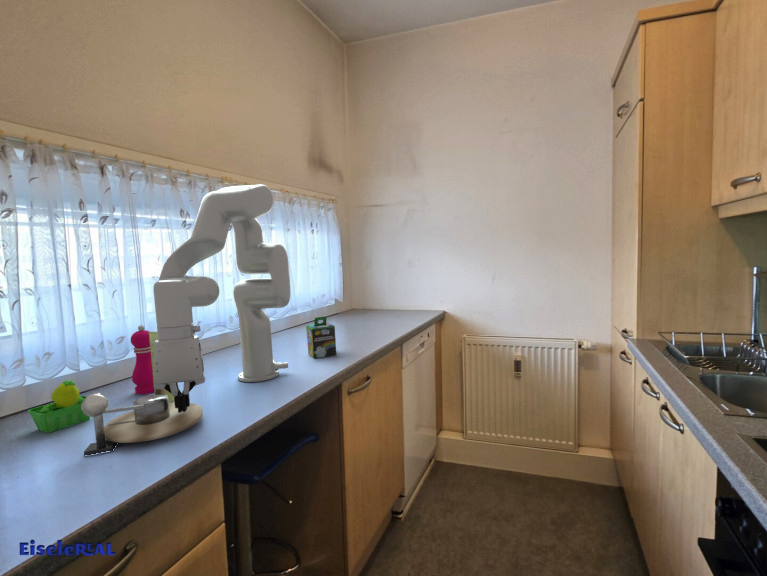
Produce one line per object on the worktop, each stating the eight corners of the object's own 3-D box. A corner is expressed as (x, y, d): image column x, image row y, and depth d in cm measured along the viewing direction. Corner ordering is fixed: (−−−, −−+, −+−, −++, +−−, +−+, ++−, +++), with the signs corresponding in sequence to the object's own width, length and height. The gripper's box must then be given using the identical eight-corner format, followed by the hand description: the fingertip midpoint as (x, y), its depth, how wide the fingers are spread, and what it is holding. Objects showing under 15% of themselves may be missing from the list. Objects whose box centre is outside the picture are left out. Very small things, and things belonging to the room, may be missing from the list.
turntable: (206, 402, 110) (204, 378, 109) (198, 432, 91) (196, 404, 90) (118, 414, 104) (115, 390, 103) (90, 450, 85) (87, 420, 84)
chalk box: (330, 350, 168) (328, 313, 166) (337, 355, 159) (335, 316, 158) (307, 354, 164) (304, 316, 163) (313, 359, 156) (310, 319, 154)
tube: (178, 397, 120) (171, 328, 118) (178, 402, 115) (171, 331, 113) (155, 400, 117) (148, 331, 116) (154, 406, 113) (147, 334, 111)
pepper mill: (148, 395, 122) (142, 327, 120) (127, 395, 123) (120, 327, 122) (166, 387, 129) (160, 322, 127) (146, 387, 130) (139, 323, 129)
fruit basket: (82, 413, 110) (77, 371, 109) (100, 419, 105) (95, 375, 104) (29, 430, 100) (23, 384, 99) (46, 437, 96) (40, 389, 95)
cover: (171, 410, 101) (169, 392, 101) (167, 421, 95) (165, 401, 94) (138, 415, 99) (136, 396, 99) (132, 427, 92) (130, 406, 92)
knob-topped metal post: (149, 438, 93) (144, 384, 91) (145, 446, 89) (140, 389, 88) (91, 448, 89) (84, 391, 88) (84, 456, 85) (77, 397, 84)
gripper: (212, 327, 103) (218, 400, 105) (143, 333, 99) (150, 409, 100) (209, 332, 96) (216, 410, 98) (135, 339, 91) (143, 421, 93)
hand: (182, 410), depth 99 cm, fingers closed
